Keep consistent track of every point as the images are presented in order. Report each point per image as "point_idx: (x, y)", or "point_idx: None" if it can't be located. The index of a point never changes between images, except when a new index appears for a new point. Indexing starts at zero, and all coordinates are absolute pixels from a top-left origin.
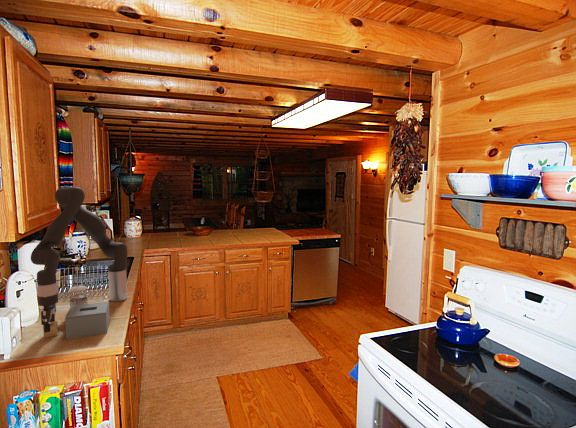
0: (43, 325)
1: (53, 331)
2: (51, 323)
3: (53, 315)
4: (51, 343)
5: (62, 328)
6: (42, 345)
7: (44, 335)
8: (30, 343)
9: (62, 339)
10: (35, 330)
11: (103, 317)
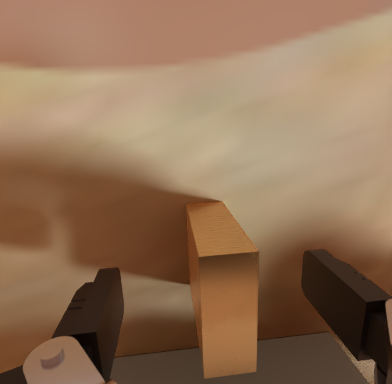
0: (196, 255)
1: (192, 288)
2: (204, 337)
3: (375, 354)
4: (59, 287)
5: None
6: (35, 237)
7: (187, 213)
8: (94, 133)
9: None
10: (351, 94)
11: None
